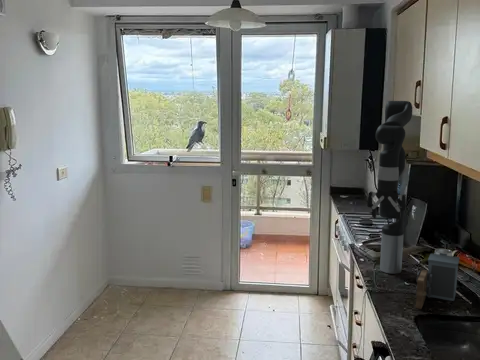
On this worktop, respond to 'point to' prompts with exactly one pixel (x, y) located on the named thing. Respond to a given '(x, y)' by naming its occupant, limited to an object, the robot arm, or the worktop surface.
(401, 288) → the worktop surface
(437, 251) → the beer glass
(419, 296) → the walnut door
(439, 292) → the slate cabinet
